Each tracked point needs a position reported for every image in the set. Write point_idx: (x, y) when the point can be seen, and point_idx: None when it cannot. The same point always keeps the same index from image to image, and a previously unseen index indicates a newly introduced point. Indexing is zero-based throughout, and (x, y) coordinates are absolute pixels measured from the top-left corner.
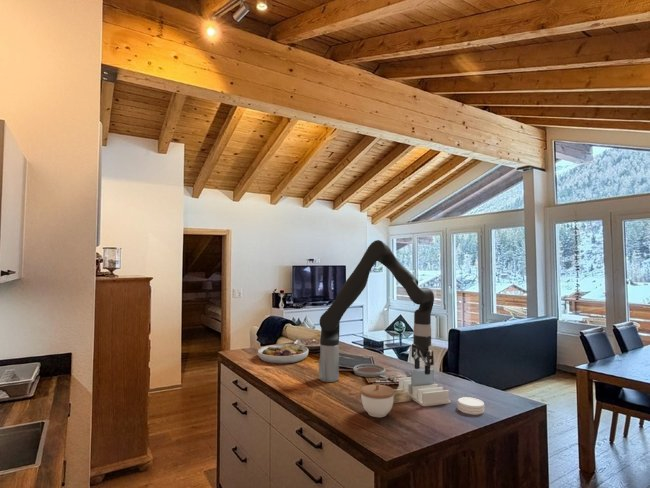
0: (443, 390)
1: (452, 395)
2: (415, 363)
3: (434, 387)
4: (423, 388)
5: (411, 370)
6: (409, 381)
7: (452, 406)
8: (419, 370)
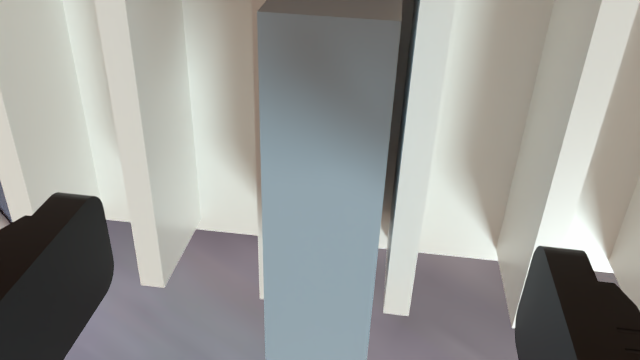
0: None
1: None
2: (570, 346)
3: None
4: None
5: (379, 20)
6: (588, 30)
7: None
8: (302, 214)
